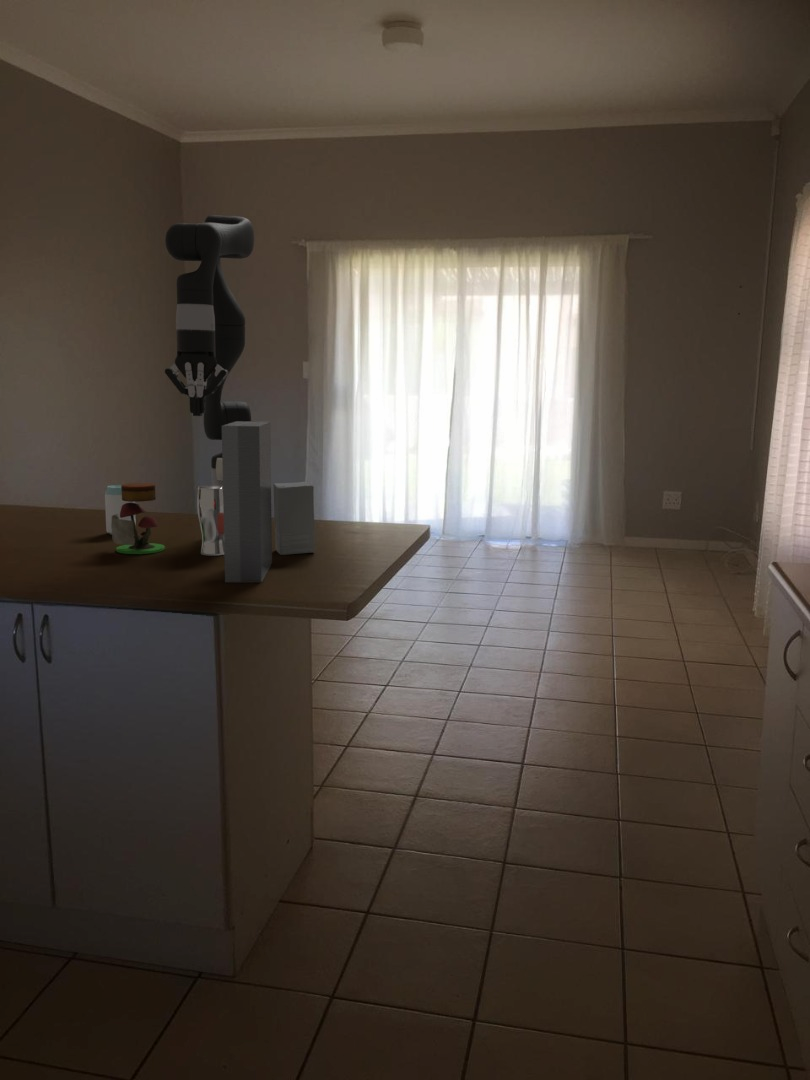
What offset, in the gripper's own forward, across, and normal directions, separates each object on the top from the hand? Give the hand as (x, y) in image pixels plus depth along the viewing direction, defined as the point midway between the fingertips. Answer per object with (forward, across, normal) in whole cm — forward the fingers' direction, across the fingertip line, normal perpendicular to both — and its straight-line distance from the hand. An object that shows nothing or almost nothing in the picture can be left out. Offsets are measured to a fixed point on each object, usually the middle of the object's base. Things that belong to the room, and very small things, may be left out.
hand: (197, 415), depth 180 cm
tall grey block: (+31, -11, +7) cm, 34 cm away
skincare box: (+32, -18, -15) cm, 39 cm away
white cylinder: (+12, -8, +6) cm, 16 cm away
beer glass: (+32, 0, -13) cm, 34 cm away
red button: (+23, -8, +7) cm, 25 cm away
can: (+32, +28, -36) cm, 56 cm away
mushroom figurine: (+32, +18, -16) cm, 40 cm away
